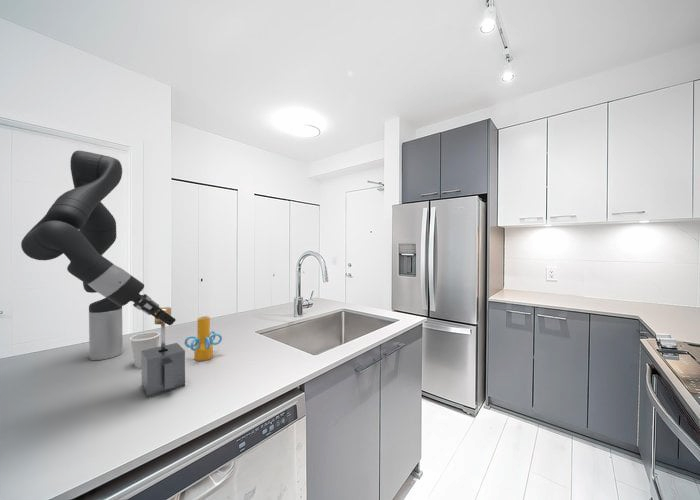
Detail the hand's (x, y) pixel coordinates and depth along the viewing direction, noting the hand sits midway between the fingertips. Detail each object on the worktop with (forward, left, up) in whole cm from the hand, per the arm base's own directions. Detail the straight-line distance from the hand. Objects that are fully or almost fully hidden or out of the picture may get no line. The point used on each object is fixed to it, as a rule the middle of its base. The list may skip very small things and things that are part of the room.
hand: (170, 320), depth 80 cm
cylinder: (-13, +13, -19) cm, 27 cm away
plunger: (0, -2, -11) cm, 12 cm away
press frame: (+1, -2, -19) cm, 19 cm away
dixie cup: (-22, -3, -19) cm, 29 cm away
